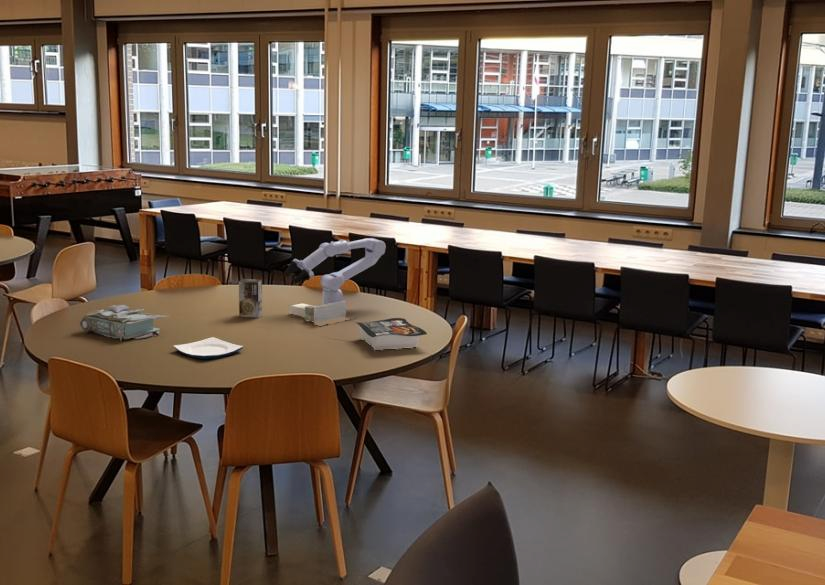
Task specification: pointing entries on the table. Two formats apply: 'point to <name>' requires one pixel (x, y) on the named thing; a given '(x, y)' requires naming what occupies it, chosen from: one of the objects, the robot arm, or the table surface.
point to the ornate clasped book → (120, 323)
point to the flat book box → (298, 309)
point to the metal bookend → (329, 311)
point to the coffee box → (250, 298)
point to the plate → (208, 348)
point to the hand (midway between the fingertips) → (289, 278)
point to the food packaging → (390, 333)
